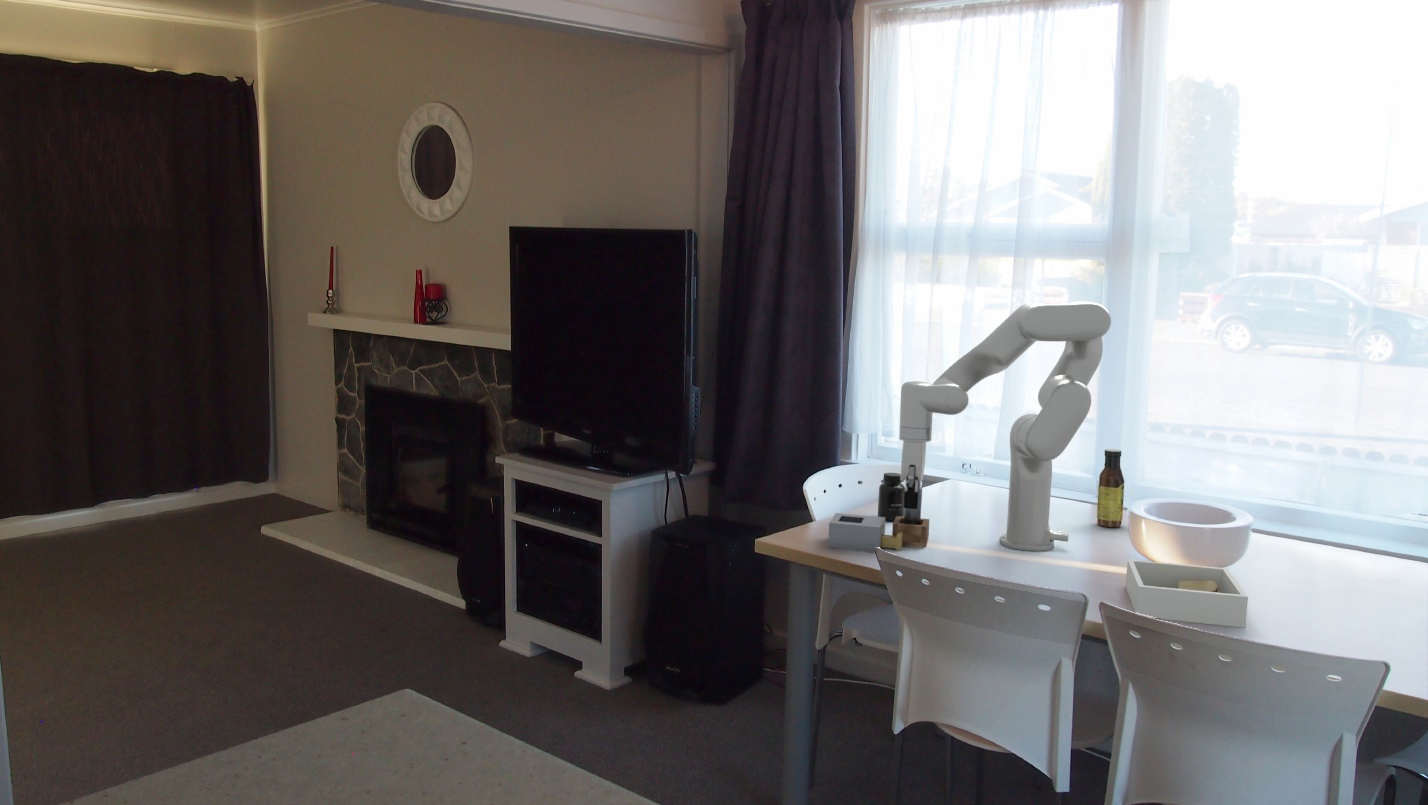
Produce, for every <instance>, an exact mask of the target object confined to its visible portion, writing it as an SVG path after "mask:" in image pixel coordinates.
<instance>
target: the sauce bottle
mask: <svg viewBox="0 0 1428 805" xmlns="http://www.w3.org/2000/svg"><path fill="white" fill-rule="evenodd" d="M1121 457H1122V450H1120V449H1114V448H1107V449H1106V448H1105V450H1104V467H1103V469H1102V470H1101V472H1100V473H1099V476H1098V477H1099V481H1098V487H1097V488H1098V491H1097V507H1096V508H1097V510H1096V513H1097V514H1096V520H1097V521H1096V523H1097V525H1099V526H1101V527H1105V528H1119V527H1121V526H1122V522H1123V513H1124V499H1125V498H1124V497H1125V478H1124V474H1123V470H1122V467H1121Z"/></svg>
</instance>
